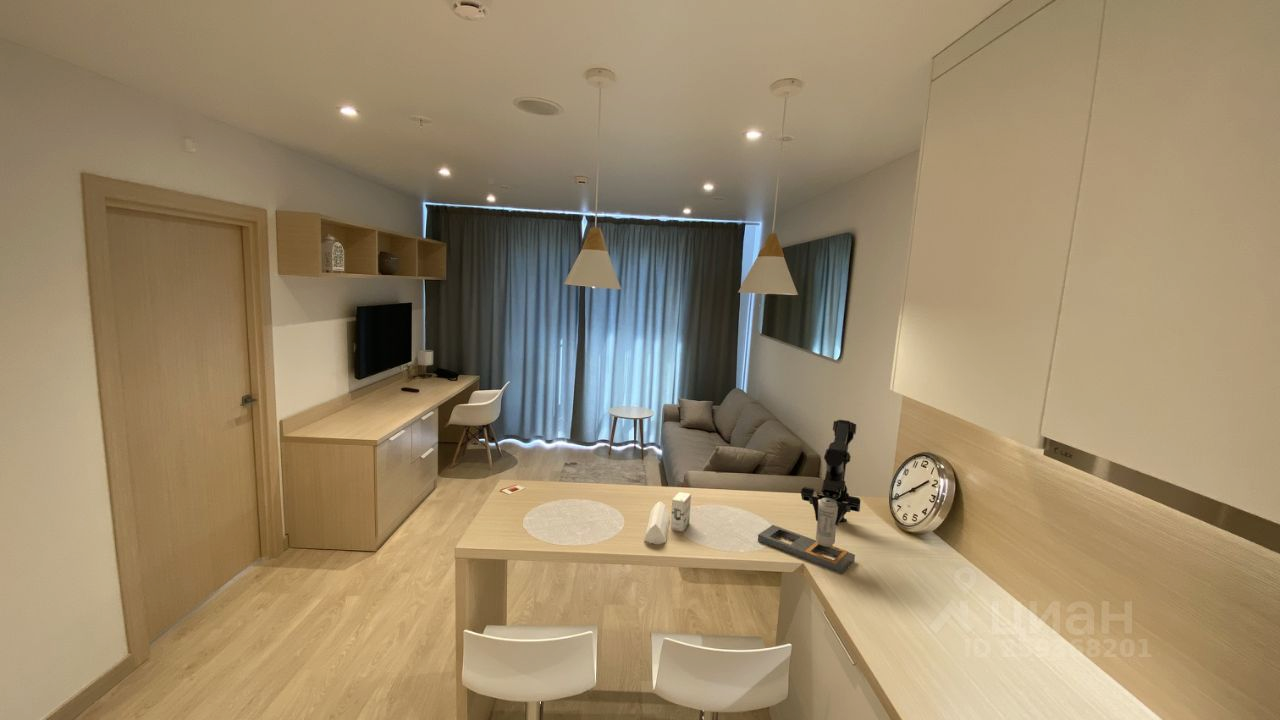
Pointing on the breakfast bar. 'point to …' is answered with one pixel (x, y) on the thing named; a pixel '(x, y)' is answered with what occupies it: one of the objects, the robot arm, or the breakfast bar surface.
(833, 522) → the energy drink can
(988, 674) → the breakfast bar surface
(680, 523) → the ink box
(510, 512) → the breakfast bar surface
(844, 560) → the grey flat block
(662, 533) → the pointed wooden block
